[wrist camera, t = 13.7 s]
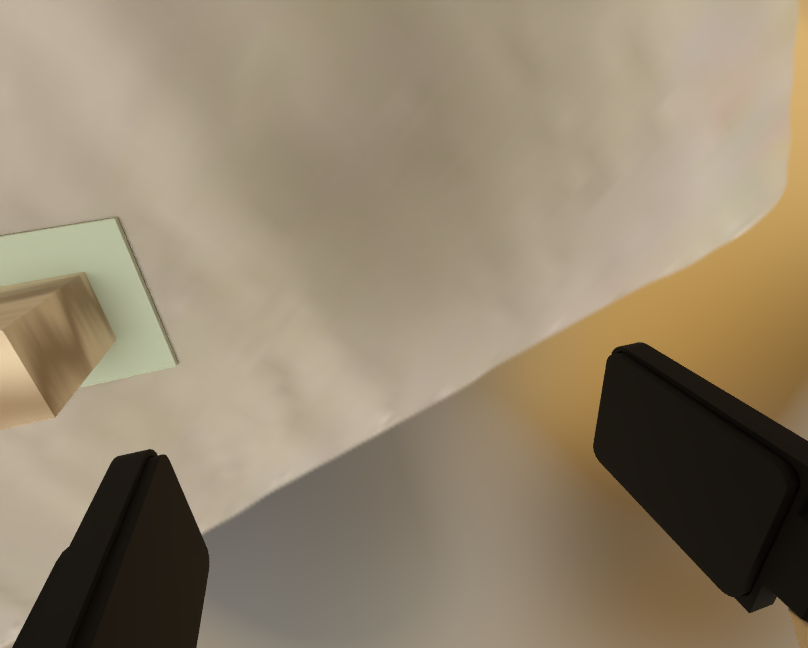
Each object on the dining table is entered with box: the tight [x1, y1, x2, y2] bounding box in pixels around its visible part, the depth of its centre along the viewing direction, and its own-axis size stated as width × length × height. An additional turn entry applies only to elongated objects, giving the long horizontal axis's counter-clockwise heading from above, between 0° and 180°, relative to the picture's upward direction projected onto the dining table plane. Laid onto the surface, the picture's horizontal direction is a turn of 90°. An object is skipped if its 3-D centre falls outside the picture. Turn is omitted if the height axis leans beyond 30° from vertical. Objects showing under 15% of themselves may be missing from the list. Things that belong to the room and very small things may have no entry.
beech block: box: [0, 272, 117, 430], centre depth 26 cm, size 6×6×10 cm
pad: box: [0, 217, 178, 388], centre depth 31 cm, size 12×12×1 cm
